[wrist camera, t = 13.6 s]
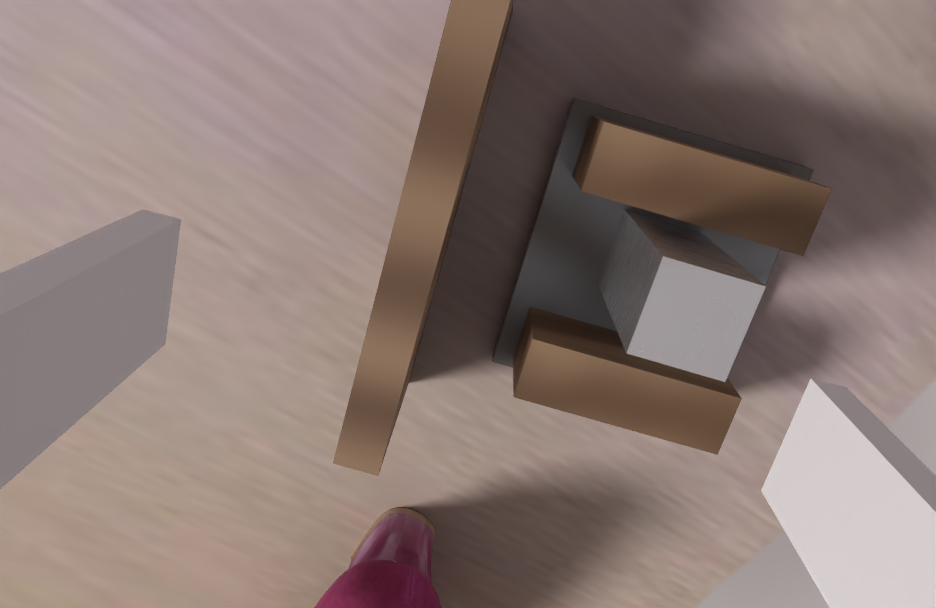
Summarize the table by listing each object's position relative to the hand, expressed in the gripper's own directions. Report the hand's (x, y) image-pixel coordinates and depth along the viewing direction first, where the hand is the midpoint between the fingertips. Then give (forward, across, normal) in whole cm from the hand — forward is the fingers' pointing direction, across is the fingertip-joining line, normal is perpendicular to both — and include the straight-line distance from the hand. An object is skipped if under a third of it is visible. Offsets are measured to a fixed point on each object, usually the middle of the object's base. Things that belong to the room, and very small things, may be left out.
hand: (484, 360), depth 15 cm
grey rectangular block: (+23, +8, -2) cm, 25 cm away
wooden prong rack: (+24, +9, -3) cm, 25 cm away
